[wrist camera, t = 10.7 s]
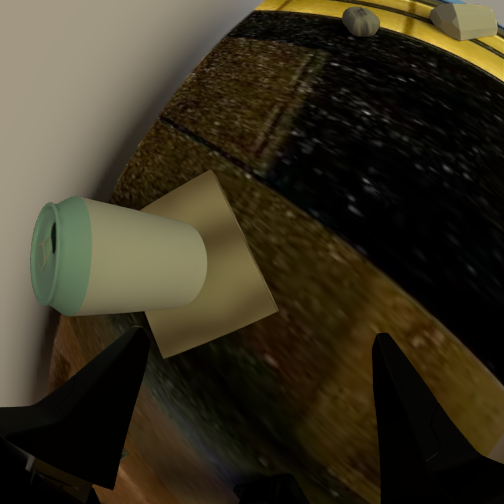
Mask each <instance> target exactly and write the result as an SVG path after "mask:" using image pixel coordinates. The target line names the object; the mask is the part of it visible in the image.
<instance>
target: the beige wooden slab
mask: <svg viewBox="0 0 504 504" xmlns="http://www.w3.org/2000/svg"><path fill="white" fill-rule="evenodd" d="M140 211H141V212H145V213H149V214H154V215H158V216H162V217H166V218H170V219H174V220H178V221H182V222H186V223H188V224H190V225H191V226H193V227H194V228H195V229H196V230H197V232H198V233H199V234H200V236H201V238H202V240H203V242H204V245H205V249H206V254H207V272H206V277H205V281H204V284H203V286H202V289H201V290H200V292H199V294H198V295H197V296H196V298H195V299H194V300H193V301H192V302H190V303H189V304H187V305H185V306H183V307H179V308H170V309H160V310H150V311H145V314H146V316H147V319H148V322H149V324H150V327H151V330H152V332H153V335H154V337H155V340H156V342H157V345H158V347H159V350H160V352H161V354H162V357H163V359H164V358H167V357H170V356H173V355H175V354H178V353H181V352H183V351H186V350H188V349H191V348H193V347H196V346H199V345H201V344H204V343H206V342H208V341H211V340H213V339H216V338H218V337H221V336H223V335H225V334H228V333H230V332H232V331H235V330H237V329H239V328H242V327H244V326H246V325H249V324H251V323H253V322H255V321H258V320H260V319H262V318H264V317H266V316H269V315H271V314H273V313H275V312H277V311H279V310H278V308H277V306H276V304H275V302H274V299H273V297H272V295H271V293H270V291H269V289H268V286H267V284H266V282H265V280H264V278H263V276H262V274H261V271H260V269H259V267H258V265H257V263H256V261H255V259H254V256H253V254H252V252H251V250H250V248H249V246H248V243H247V241H246V239H245V237H244V235H243V233H242V231H241V228H240V226H239V224H238V222H237V220H236V218H235V215H234V213H233V211H232V209H231V207H230V205H229V203H228V200H227V198H226V196H225V194H224V192H223V190H222V187H221V185H220V183H219V181H218V179H217V177H216V176H215V174H214V173H213V171H212V170H209V171H207V172H205V173H203V174H201V175H200V176H198V177H196V178H194V179H192V180H190V181H189V182H187V183H185V184H183V185H182V186H180V187H178V188H176V189H175V190H173V191H171V192H170V193H168V194H166V195H164V196H163V197H161V198H159V199H158V200H156V201H154V202H153V203H151V204H150V205H148V206H146V207H145V208H143V209H142V210H140Z"/></svg>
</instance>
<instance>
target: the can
mask: <svg viewBox="0 0 504 504" xmlns="http://www.w3.org/2000/svg"><path fill="white" fill-rule="evenodd" d="M30 264H31V265H30V266H31V267H30V268H31V279H32V285H33V290H34V293H35V296H36V298H37V300H38V302H39V303H40V304H41V305H43V306H47V305H50V306H52V307H53V308H55V309H56V310H57V311H59V312H60V313H62V314H63V315H65V316H86V315H102V314H115V313H128V312H139V311H150V310H160V309H170V308H179V307H183V306H185V305H187V304H189V303H190V302H192V301H193V300H194V299H195V298H196V296H197V295H198V294H199V292H200V290H201V289H202V286H203V284H204V281H205V277H206V272H207V254H206V249H205V245H204V242H203V240H202V238H201V236H200V234H199V233H198V232H197V230H196V229H195V228H194V227H193V226H191V225H190V224H188V223H186V222H182V221H178V220H174V219H170V218H166V217H162V216H158V215H154V214H149V213H145V212H141V211H137V210H133V209H129V208H124V207H120V206H116V205H112V204H107V203H103V202H98V201H94V200H90V199H86V198H82V197H77V196H75V197H70V198H68V199H66V200H64V201H62V202H60V203H58V204H54V203H51V202H50V203H47V204H46V205H45V206H44V207H43V208H42V210H41V212H40V214H39V216H38V219H37V221H36V225H35V228H34V233H33V238H32V244H31V257H30Z"/></svg>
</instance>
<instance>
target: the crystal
mask: <svg viewBox="0 0 504 504" xmlns="http://www.w3.org/2000/svg"><path fill="white" fill-rule="evenodd" d="M429 18H430V19H431V21H432V22H433V24H434V25H435V26H436V27H437V28H439V29H440V30H441V31H443V32H444V33H445V34H447V35H449V36H450V37H452V38H454V39H457V40H460V41H462V40H468V39H473V38H480V37H487V36H494V35H496V33H497V22H496V17H495V14H494V11H493V10H492V8H491V7H490V6H483V5H471V4H440V5H439V6H437V7H435V8H434V9H432V10H431V12H430V16H429Z"/></svg>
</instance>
